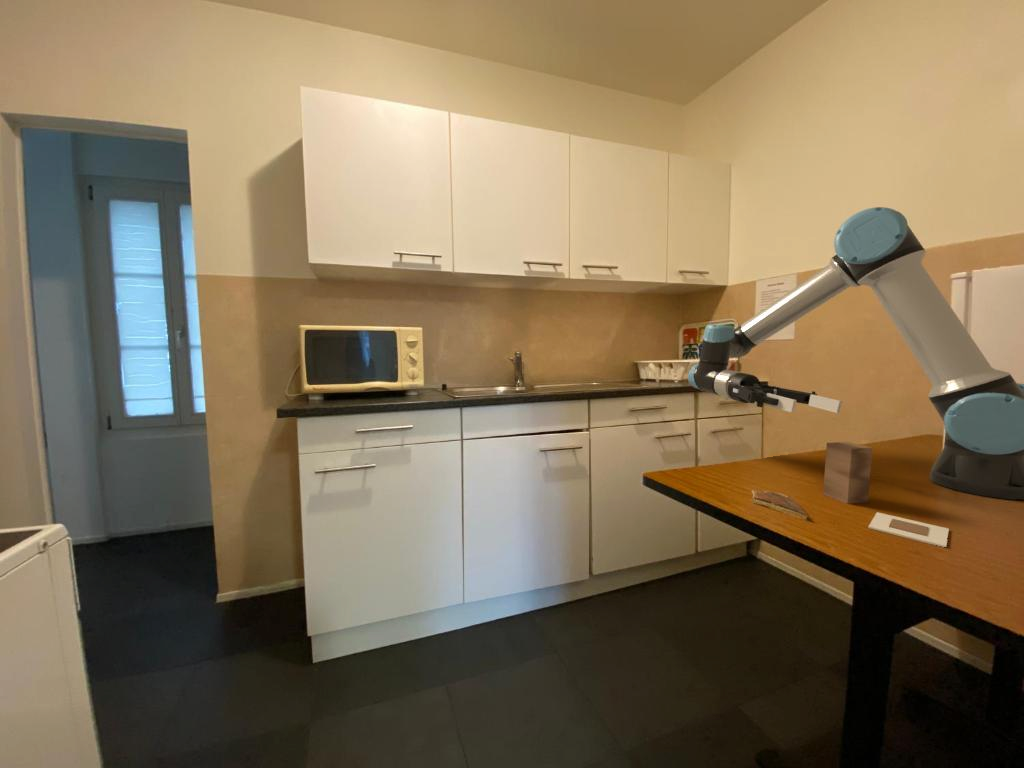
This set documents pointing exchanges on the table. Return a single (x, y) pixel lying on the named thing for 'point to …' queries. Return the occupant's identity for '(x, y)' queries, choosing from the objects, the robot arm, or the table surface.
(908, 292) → the robot arm
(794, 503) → the shard
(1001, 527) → the table surface
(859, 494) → the walnut block
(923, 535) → the swatch
